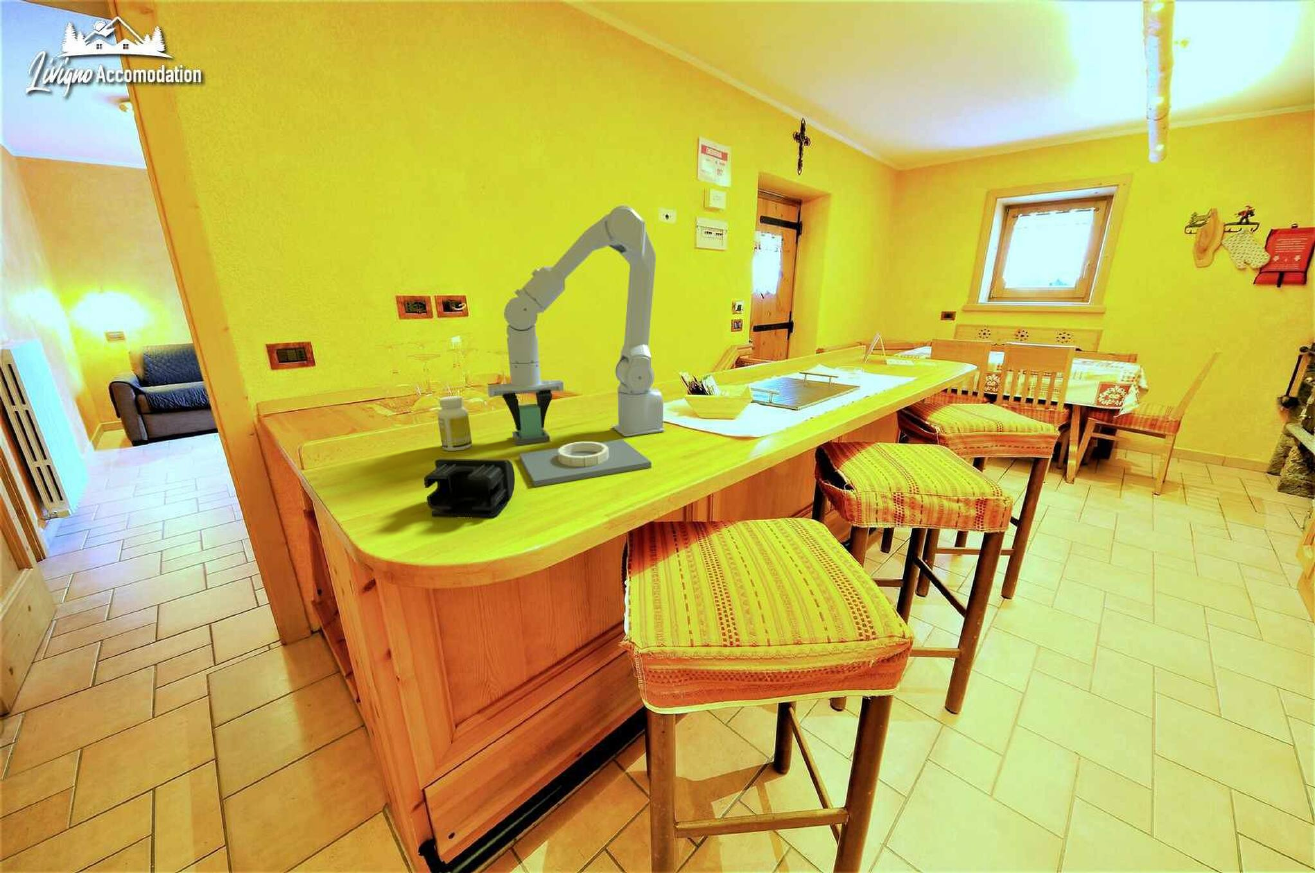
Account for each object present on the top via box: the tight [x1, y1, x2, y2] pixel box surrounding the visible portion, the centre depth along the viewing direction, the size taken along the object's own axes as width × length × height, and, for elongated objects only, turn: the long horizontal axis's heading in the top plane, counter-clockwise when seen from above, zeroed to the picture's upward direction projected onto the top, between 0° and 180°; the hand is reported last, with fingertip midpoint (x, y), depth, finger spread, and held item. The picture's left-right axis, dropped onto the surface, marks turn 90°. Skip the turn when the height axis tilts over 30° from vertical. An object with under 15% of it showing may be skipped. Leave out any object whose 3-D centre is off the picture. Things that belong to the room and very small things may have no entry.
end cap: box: [423, 458, 516, 519], centre depth 63 cm, size 10×7×7 cm
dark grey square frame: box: [511, 428, 551, 447], centre depth 94 cm, size 6×6×1 cm
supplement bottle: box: [437, 395, 473, 452], centre depth 88 cm, size 5×5×10 cm
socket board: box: [519, 439, 652, 488], centre depth 80 cm, size 20×14×3 cm
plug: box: [518, 403, 543, 439], centre depth 93 cm, size 4×4×7 cm
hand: (530, 428), depth 93 cm, fingers closed on plug, 4 cm apart
